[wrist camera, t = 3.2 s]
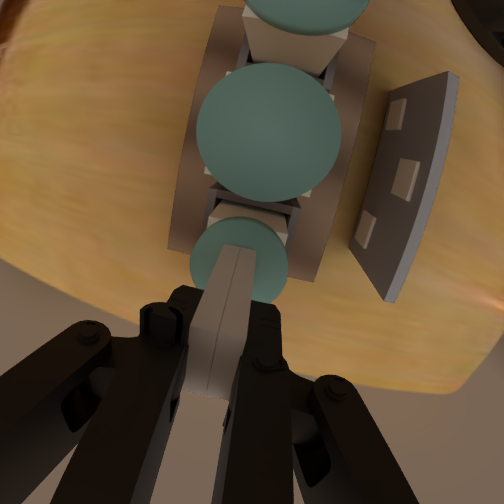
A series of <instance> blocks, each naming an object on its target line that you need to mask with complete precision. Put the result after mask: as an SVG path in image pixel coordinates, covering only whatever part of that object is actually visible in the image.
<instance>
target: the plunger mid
mask: <svg viewBox="0 0 504 504" xmlns="http://www.w3.org/2000/svg"><path fill="white" fill-rule="evenodd" d="M334 97H335V96H334V95H331V94H328V92H327V91H326V90H325V88H324V87H323V86H322V85H321V84H320V83H319V82H318V81H316V80H315V79H314V78H313V77H311V76H310V75H308V74H306V73H305V72H303V71H301V70H299V69H296V68H294V67H291V66H287V65H283V64H277V63H259V64H253V65H249V66H245V67H242V68H240V69H237V70H235V71H233V72H229V71H227V72H226V76H225V77H224V78H222V79H221V80H220V81H219V82H218V83H217V84H216V85H215V86H214V87H213V88H212V89H211V91H210V92H209V93H208V95H207V96H206V98H205V100H204V102H203V104H202V106H201V108H200V111H199V115H198V119H197V126H196V137H197V145H198V148H199V152H200V155H201V157H202V160H203V162H204V164H205V165H206V166H205V171H204V174H209V175H212V176H213V177H214V178H215V179H216V180H217V181H218V182H219V183H220V184H221V185H223V186H224V187H225V188H227V189H228V190H230V191H231V192H233V193H235V194H237V195H239V196H242V197H244V198H247V199H251V200H255V201H261V202H277V201H284V200H289V199H292V198H295V197H298V196H300V195H302V196H306V197H310V194H311V190H312V188H314V187H315V186H316V185H318V184H319V183H320V182H321V181H322V180H323V179H324V178H325V176H326V175H327V174H328V173H329V171H330V170H331V168H332V167H333V165H334V163H335V161H336V159H337V156H338V153H339V149H340V144H341V122H340V118H339V114H338V111H337V108H336V106H335V104H334V102H333V101H334Z"/></svg>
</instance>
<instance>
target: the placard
mask: <svg viewBox="0 0 504 504" xmlns="http://www.w3.org/2000/svg"><path fill="white" fill-rule="evenodd" d="M458 85H459V77H458V76H456V75H455V74H453V73H451V72H450V71H447V72H443V73H440V74H437V75H434V76H431V77H428V78H425V79H422V80H419V81H416V82H413V83H410V84H408V85H405V86H402V87H399V88H397V89H394V90H391V91H390V96H389V101H388V106H387V111H386V115H385V120H384V124H383V129H382V133H381V137H380V141H379V146H378V150H377V154H376V157H375V161H374V165H373V169H372V173H371V176H370V180H369V183H368V187H367V190H366V194H365V197H364V201H363V204H362V207H361V211H360V214H359V217H358V220H357V223H356V227H355V230H354V233H353V236H352V239H351V242H350V245H349V249H350V251H351V252H352V254H353V255H354V256H355V258H356V259H357V261H358V262H359V264H360V265H361V267H362V268H363V270H364V271H365V273H366V274H367V276H368V278H369V279H370V281H371V282H372V284H373V285H374V287H375V288H376V290H377V292H378V293H379V295H380V296H381V298H382V299H383V301H385V302H390V303H395V301H396V299H397V297H398V295H399V292H400V290H401V288H402V286H403V283H404V281H405V279H406V276H407V274H408V272H409V269H410V267H411V264H412V262H413V259H414V257H415V254H416V252H417V249H418V246H419V244H420V241H421V238H422V235H423V232H424V230H425V227H426V224H427V221H428V218H429V215H430V212H431V208H432V205H433V202H434V199H435V195H436V192H437V188H438V185H439V181H440V178H441V174H442V170H443V166H444V162H445V158H446V153H447V149H448V145H449V140H450V135H451V130H452V124H453V119H454V113H455V107H456V100H457V93H458Z"/></svg>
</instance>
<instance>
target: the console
mask: <svg viewBox="0 0 504 504" xmlns="http://www.w3.org/2000/svg"><path fill="white" fill-rule="evenodd" d="M243 11H244V8H237V7H227V6H219V8H218V11H217V14H216V17H215V20H214V23H213V27H212V30H211V33H210V37H209V40H208V44H207V47H206V51H205V54H204V58H203V62H202V66H201V69H200V73H199V77H198V81H197V85H196V89H195V94H194V98H193V102H192V107H191V111H190V116H189V120H188V125H187V130H186V135H185V140H184V145H183V150H182V156H181V161H180V167H179V173H178V178H177V185H176V191H175V197H174V204H173V211H172V218H171V226H170V233H169V242H168V249H170V250H174V251H178V252H182V253H186V254H191V253H192V250H193V248H194V246H195V244H196V242H197V241H198V239H199V238H200V237H201V235H202V234H203V233H204V231H205V230H206V229H207V224H208V218H209V216H210V214H211V213H212V212H213V211H214V209H215V208H216V207H217V206H218V205H219V203H220V202H221V201H222V200H223V199H225V200H230V201H234V202H239V203H243V204H248V205H252V206H257V207H261V208H265V209H270V210H274V211H278V212H282V213H284V215H285V220H286V226H287V231H288V237H287V240H286V244H285V249H286V254H287V261H288V276H287V277H291V278H296V279H300V280H305V281H310V282H314V279H315V276H316V273H317V270H318V267H319V264H320V261H321V258H322V255H323V252H324V249H325V246H326V243H327V239H328V236H329V233H330V230H331V227H332V223H333V220H334V217H335V213H336V210H337V206H338V203H339V199H340V196H341V192H342V189H343V185H344V182H345V178H346V174H347V171H348V167H349V163H350V159H351V155H352V151H353V147H354V143H355V139H356V135H357V131H358V127H359V123H360V118H361V114H362V109H363V105H364V100H365V96H366V91H367V86H368V81H369V76H370V71H371V65H372V60H373V54H374V49H375V43H376V42H375V41H372V40H370V39H367V38H364V37H361V36H359V35H356V34H353V33H350V32H348V36H347V40H346V41H345V43H344V44H343V45H342V46H341V48H340V49H339V50H338V52H337V53H336V54H335V56H334V57H333V58H332V59H331V61H330V62H329V63H328V65H327V66H326V67H325V69H324V70H323V71H322V73H321V74H320V75H319V77H318V78H315V77H313V78H314V79H315V80H316V81H318V82H319V83H320V84H321V85H322V86H323V87H324V88H325V90H326V91H327V92H328V94H331V95H334V96H335V97H334V101H333V102H334V104H335V106H336V108H337V111H338V114H339V118H340V122H341V144H340V149H339V153H338V156H337V159H336V161H335V163H334V165H333V167H332V168H331V170H330V171H329V173H328V174H327V175H326V176H325V178H324V179H323V180H322V181H321V182H320V183H319V184H318V185H316V186H315V187H314V188H312V190H311V194H310V197H306V196H302V195H300V196H298V197H295V198H292V199H289V200H284V201H277V202H261V201H255V200H251V199H247V198H244V197H242V196H239V195H237V194H235V193H233V192H231V191H230V190H228V189H227V188H225V187H224V186H223V185H221V184H220V183H219V182H218V181H217V180H216V179H215V178H214V177H213V176H212V175H209V174H204V171H205V166H206V165H205V164H204V162H203V160H202V157H201V155H200V152H199V148H198V145H197V137H196V126H197V119H198V115H199V111H200V108H201V106H202V104H203V102H204V100H205V98H206V96H207V95H208V93H209V92H210V91H211V89H212V88H213V87H214V86H215V85H216V84H217V83H218V82H219V81H220V80H221V79H222V78H224V77H225V76H226V72H227V71H229V72H233V71H235V70H237V69H240V68H242V67H245V66H249V65H253V60H252V56H251V51H250V47H249V43H248V39H247V34H246V30H245V26H244V22H243V18H242V14H243Z"/></svg>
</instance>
